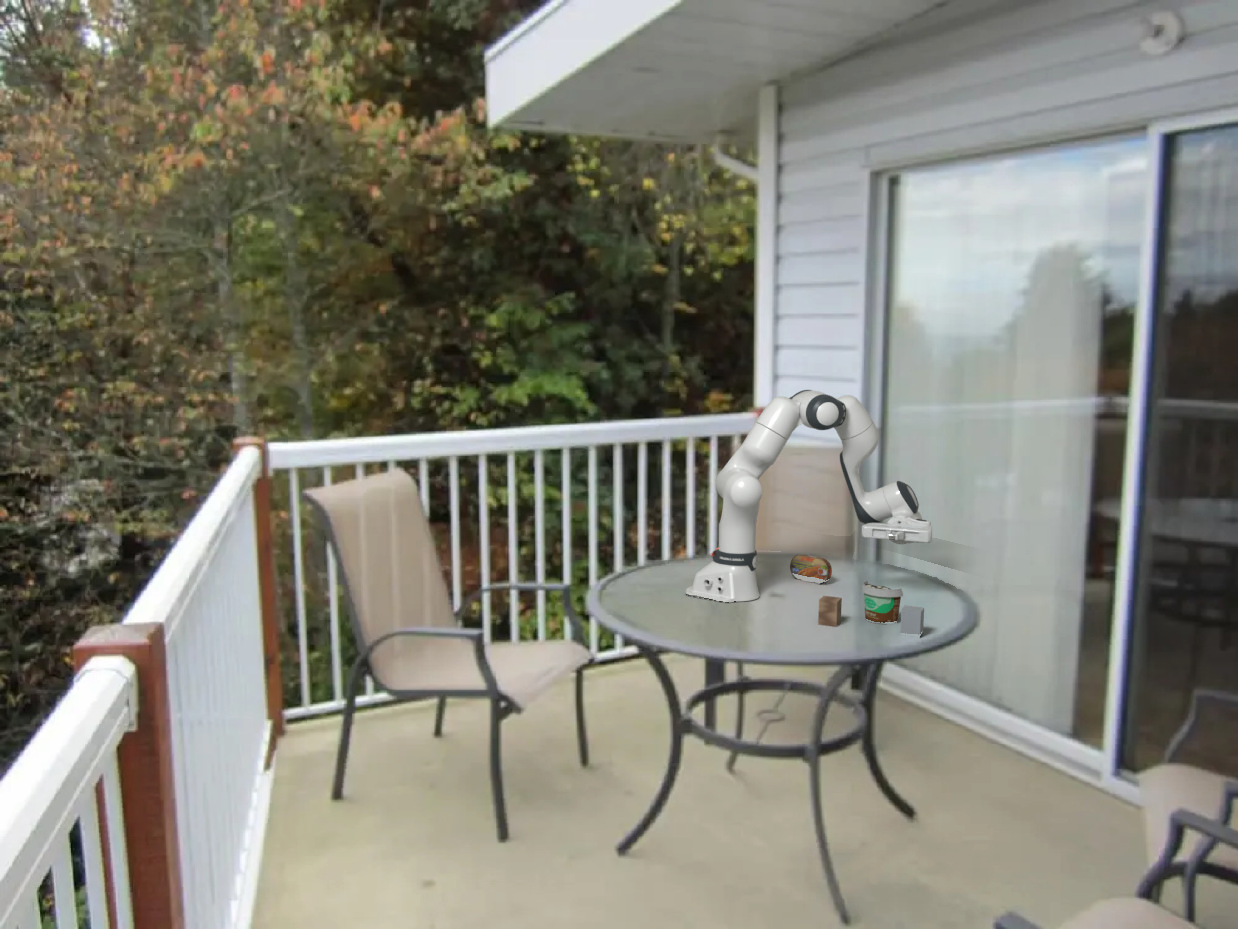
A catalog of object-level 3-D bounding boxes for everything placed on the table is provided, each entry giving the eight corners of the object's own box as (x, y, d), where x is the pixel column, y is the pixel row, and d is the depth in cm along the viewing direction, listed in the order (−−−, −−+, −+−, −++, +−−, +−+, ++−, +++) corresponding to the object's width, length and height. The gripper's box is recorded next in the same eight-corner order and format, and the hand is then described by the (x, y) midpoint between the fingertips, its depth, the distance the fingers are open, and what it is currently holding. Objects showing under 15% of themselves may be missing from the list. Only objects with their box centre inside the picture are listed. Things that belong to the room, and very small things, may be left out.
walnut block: (818, 624, 269) (818, 599, 268) (823, 620, 273) (823, 595, 272) (836, 627, 267) (837, 602, 266) (840, 622, 271) (841, 597, 270)
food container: (851, 618, 275) (852, 583, 274) (864, 614, 279) (865, 580, 278) (888, 628, 266) (890, 592, 264) (902, 624, 269) (903, 588, 268)
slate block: (900, 635, 259) (901, 609, 258) (903, 630, 263) (904, 605, 263) (919, 638, 257) (920, 612, 256) (923, 633, 261) (924, 607, 260)
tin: (789, 578, 322) (789, 552, 321) (794, 576, 324) (795, 551, 323) (827, 586, 311) (827, 560, 310) (833, 585, 313) (833, 559, 312)
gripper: (867, 516, 301) (856, 523, 289) (936, 521, 292) (928, 529, 280) (866, 536, 302) (855, 544, 290) (935, 542, 293) (927, 551, 281)
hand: (892, 537), depth 285 cm, fingers closed
